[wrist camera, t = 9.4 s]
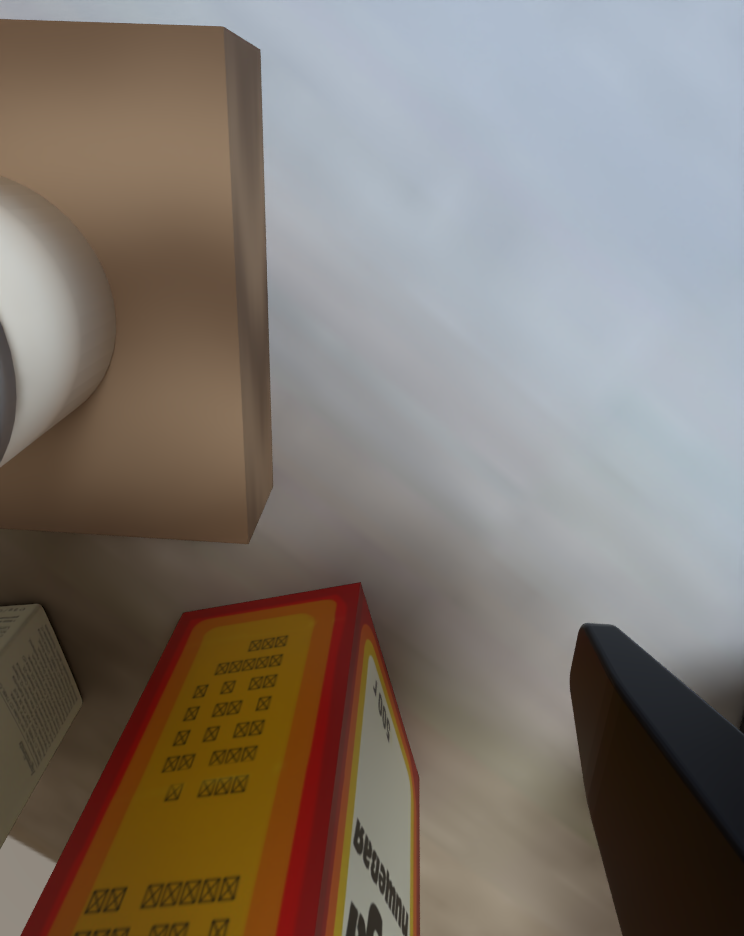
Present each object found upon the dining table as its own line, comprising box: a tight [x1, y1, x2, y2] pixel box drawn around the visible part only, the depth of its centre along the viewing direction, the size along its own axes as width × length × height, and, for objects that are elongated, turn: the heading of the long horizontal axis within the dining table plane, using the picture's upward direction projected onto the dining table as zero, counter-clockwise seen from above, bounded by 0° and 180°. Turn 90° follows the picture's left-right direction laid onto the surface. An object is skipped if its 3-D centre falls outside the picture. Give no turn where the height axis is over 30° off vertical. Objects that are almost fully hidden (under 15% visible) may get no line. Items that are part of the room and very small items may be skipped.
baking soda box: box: [21, 582, 420, 936], centre depth 18 cm, size 10×6×16 cm
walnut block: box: [0, 19, 273, 544], centre depth 18 cm, size 12×12×4 cm
